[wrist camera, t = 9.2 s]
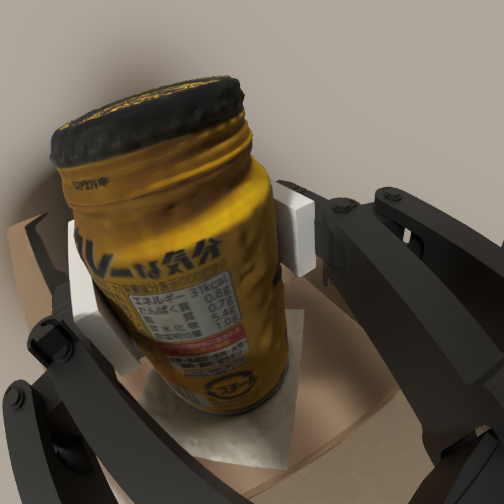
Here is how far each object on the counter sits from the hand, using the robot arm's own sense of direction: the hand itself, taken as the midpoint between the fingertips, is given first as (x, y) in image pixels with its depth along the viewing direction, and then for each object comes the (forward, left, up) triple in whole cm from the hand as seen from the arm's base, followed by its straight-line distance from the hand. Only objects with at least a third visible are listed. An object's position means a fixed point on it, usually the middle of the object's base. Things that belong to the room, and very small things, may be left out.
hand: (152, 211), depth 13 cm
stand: (-1, +3, -19) cm, 19 cm away
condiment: (+1, +5, -7) cm, 8 cm away
